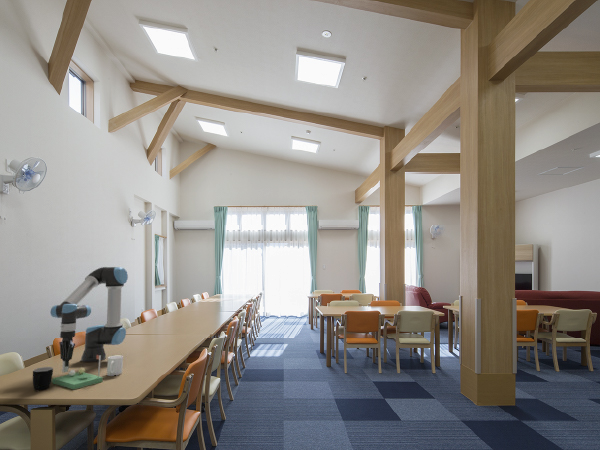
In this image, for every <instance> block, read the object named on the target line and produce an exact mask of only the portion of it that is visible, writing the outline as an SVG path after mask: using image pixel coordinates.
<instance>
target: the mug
mask: <svg viewBox="0 0 600 450" xmlns="http://www.w3.org/2000/svg"><path fill="white" fill-rule="evenodd" d="M53 372H54V368H53V367H51V366H45V367H38V368H35V369H33V370H32V388H33V390H35V391H38V392H39V391H46V390H48V389H49V388H50V387H51V384H52V378H53V374H54V373H53Z"/></svg>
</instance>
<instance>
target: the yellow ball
mask: <svg viewBox="0 0 600 450" xmlns="http://www.w3.org/2000/svg"><path fill="white" fill-rule="evenodd" d="M85 371H86V368H84V367H79V369H78V370H77V372H78V373H79V374H83V373H86V372H85Z"/></svg>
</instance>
